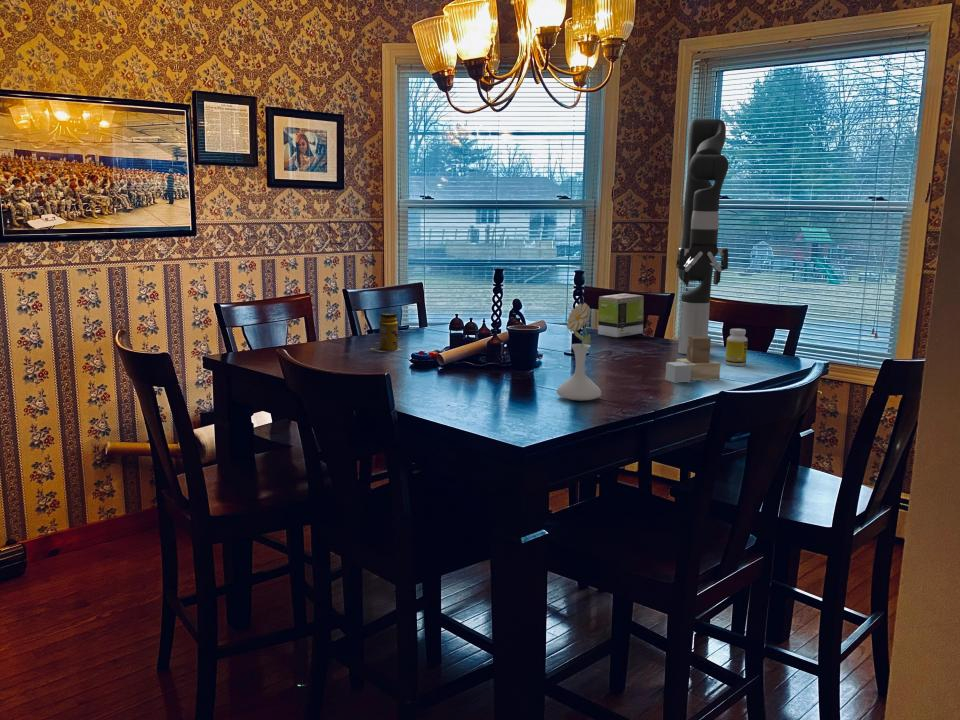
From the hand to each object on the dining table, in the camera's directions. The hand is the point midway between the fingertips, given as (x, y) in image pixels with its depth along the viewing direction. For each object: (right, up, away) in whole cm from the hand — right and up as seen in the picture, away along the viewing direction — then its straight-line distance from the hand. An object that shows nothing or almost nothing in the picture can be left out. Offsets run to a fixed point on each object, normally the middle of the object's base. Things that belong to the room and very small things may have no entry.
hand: (700, 284), depth 240 cm
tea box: (-10, -12, +77) cm, 79 cm away
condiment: (-94, -18, +38) cm, 104 cm away
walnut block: (-1, -22, +1) cm, 22 cm away
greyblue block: (-7, -28, -4) cm, 29 cm away
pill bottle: (+16, -23, +21) cm, 35 cm away
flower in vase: (-38, -32, -27) cm, 57 cm away
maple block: (-1, -27, +2) cm, 27 cm away
